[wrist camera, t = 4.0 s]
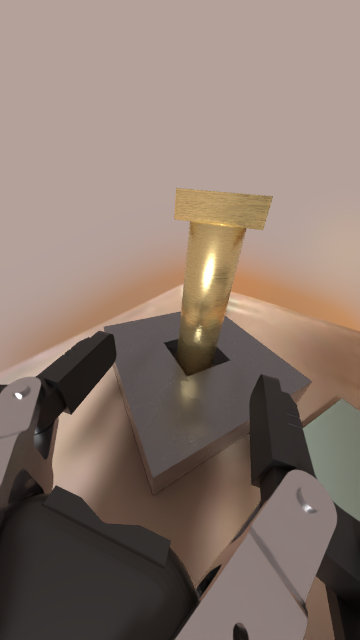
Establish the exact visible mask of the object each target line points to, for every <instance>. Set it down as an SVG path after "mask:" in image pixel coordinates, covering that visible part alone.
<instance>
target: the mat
mask: <svg viewBox="0 0 360 640" xmlns="http://www.w3.org/2000/svg"><path fill="white" fill-rule="evenodd" d="M303 431H304V435H305V439H306V443H307V446H308V450H309V454H310V458H311V461H312V465H313V469H314V472H315V475H316V477H317V480H318V481H319V482H320V483H321V484H322V485H323V487H324V488H325V489H326V490H327V492H328V493H329V495H330V497H331V499H332V500H333V502H335V503H336V504H337V505H338V506H339V507H340V508H342V509H343V510H344V511H346V512H347V513H348V514H350V515H351V516H353V517H354V518H355V519H357V520H358V521H360V411H359V410H357V409H356V408H355V407H353V406H352V405H351V404H349V403H348V402H347V401H345V400H344V399H340V400H339V401H338V402H336V403H335V404H334V405H333V406H331V407H330V408H329V409H327V410H326V411H325V412H324V413H322V414H321V415H320V416H318V417H317V418H316V419H314V420H313V421H312V422H311V423H309V424H308V425H307V426H305V427H304V428H303Z"/></svg>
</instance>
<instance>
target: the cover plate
mask: <svg viewBox="0 0 360 640" xmlns="http://www.w3.org/2000/svg"><path fill="white" fill-rule="evenodd" d="M180 318H181V312H176V313H171V314H166V315H161V316H156V317H151V318H146V319H141V320H136V321H131V322H126V323H121V324H116V325H111V326H106V327H104V332H107V333H110V334H113V335H114V339H115V346H116V353H117V356H116V360H115V362H114V364H113V368H114V371H115V374H116V377H117V381H118V384H119V387H120V390H121V394H122V397H123V400H124V403H125V407H126V410H127V413H128V416H129V420H130V423H131V426H132V429H133V433H134V436H135V439H136V442H137V445H138V449H139V452H140V455H141V458H142V462H143V465H144V468H145V471H146V475H147V478H148V481H149V484H150V488H151V491H152V494H153V495H154V494H155V493H157V492H159V491H160V490H162V489H163V488H165V487H166V486H168V485H169V484H171V483H172V482H174V481H176V480H177V479H179V478H180V477H182V476H183V475H185V474H186V473H188V472H189V471H191V470H192V469H194V468H196V467H197V466H199V465H200V464H202V463H203V462H205V461H206V460H208V459H209V458H211V457H213V456H214V455H216V454H217V453H219V452H220V451H222V450H223V449H225V448H226V447H228V446H229V445H231V444H233V443H234V442H236V441H237V440H239V439H240V438H242V437H243V436H245V435H246V434H248V433H250V415H249V402H250V397H251V393H252V391H253V389H254V387H255V385H256V382H257V380H258V378H259V376H260V375H261V374H263V375H267V376H270V377H274V378H278V379H279V381H280V386H281V391H282V392H286V393H289V394H290V396H291V397H292V399H293V400H294V402H295V403H296V402H297V401H299V399H300V398H301V396H302V395H303V394H304V392H305V391H306V389H307V388H308V387H309V385H310V384H311V382H312V381H311V380H309V379H308V378H307V377H305V376H304V375H303V374H301V373H300V372H299V371H297V370H296V369H295V368H293V367H292V366H291V365H289V364H288V363H287V362H285V361H284V360H283V359H281V358H280V357H279V356H277V355H276V354H275V353H274V352H272V351H271V350H270V349H268V348H267V347H266V346H264V345H263V344H262V343H260V342H259V341H258V340H256V339H255V338H254V337H252V336H251V335H250V334H248V333H247V332H246V331H244V330H243V329H242V328H241V327H239V326H238V325H237V324H235V323H234V322H233V321H231V320H230V319H229V318H227V317H226V316H224V320H223V324H222V328H221V332H220V336H219V340H218V344H217V348H216V352H215V356H214V360H213V364H212V366H213V367H212V368H209V369H207V370H204V371H201V372H199V373H196V374H193V375H191V376H188V377H187V376H186V374H185V373H184V372H183V370H182V369H181V367H180V366H179V364H178V363H177V361H176V360H175V358H177V348H178V338H179V328H180Z"/></svg>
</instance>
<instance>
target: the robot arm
mask: <svg viewBox="0 0 360 640" xmlns="http://www.w3.org/2000/svg"><path fill="white" fill-rule="evenodd" d="M116 356H117V353H116V346H115V339H114V335H113V334H110V333H107V332H103V331H98V332H97V333H95V334H94V335H93V336H92V337H91V338H90V337H88V338H86V339H84V340H82V341H80V342H78V343H77V344H76V345H74V346H73V347H72V348H71V350H68V351H67V352H66V353H65V355H62V356H61V357H60V358H58V359H57V360H56V361H55V362H54V363H52V364H51V365H50V366H49V367H47V368H46V369H45V370H44V371H42V372H41V373H40V374H39V375H37V376H36V377H25V378H21V379H18V380H16V381H14V382H12V383H11V384H9V385H0V640H303V638H304V635H305V631H306V627H307V621H308V612H307V609H306V599H307V595H308V593H309V590H310V588H311V585H312V583H313V580H314V578H315V576H317V577H318V578H319V579H320V580H321V581H322V582H323V583H324V584H325V586H326V591H327V597H328V603H329V608H330V614H331V620H332V625H333V631H334V636H335V640H360V521H358V520H357V519H355V518H354V517H353V516H351V515H350V514H348V513H347V512H346V511H344V510H343V509H342V508H340V507H339V506H338V505H337V504H336V503H335V502H333V500H332V499H331V497H330V495H329V493H328V492H327V490H326V489H325V488H324V487H323V485H322V484H321V483H320V482H319V481H318V480H317V477H316V475H315V472H314V469H313V465H312V461H311V458H310V454H309V450H308V446H307V443H306V439H305V435H304V431H303V429H302V424H301V420H300V419H299V417H300V416H299V412H298V409H297V405H296V403H295V402H294V400H293V399H292V397H291V396H290V394H289V393H286V392H282V391H281V386H280V381H279V379H278V378H274V377H270V376H267V375H263V374H261V375H260V376H259V378H258V380H257V382H256V385H255V387H254V389H253V391H252V393H251V397H250V402H249V415H250V454H251V485H253V486H256V487H258V488H260V493H261V500H260V501H259V503H258V504H257V506H256V507H255V508H254V510H253V511H252V512H251V514H250V515H249V516H248V518H247V519H246V521H245V522H244V523H243V525H242V526H241V527H240V529H239V530H238V532H237V533H236V534H235V536H234V537H233V538H232V540H231V541H230V542H229V544H228V545H227V546H226V547H225V549H224V550H223V551H222V552H221V553H220V555H219V556H218V557H217V558H216V560H215V561H214V562H213V564H212V565H211V566H210V568H209V569H208V571H207V572H206V573H205V575H204V576H203V577H202V579H201V580H200V581H199V583H198V584H197V586H196V587H195V588H194V585H193V583H192V581H191V579H190V576H189V574H188V572H187V570H186V569H185V567H184V565H183V563H182V562H181V560H180V559H179V558H178V556H177V555H176V554H175V553H174V552H173V551H172V549H171V548H170V547H169V546H170V540H168V539H166V538H164V537H162V536H160V535H158V534H156V533H154V532H152V531H150V530H147V529H145V528H143V527H141V526H138V525H121V524H106V523H104V522H102V521H101V520H100V519H99V517H98V516H97V515H96V514H95V513H94V512H93V510H92V509H91V508H90V507H89V506H88V505H87V504H86V502H85V501H84V500H83V499H82V498H81V497H79V496H77V495H75V494H73V493H71V492H69V491H67V490H65V489H62V488H60V487H58V486H55V488H54V489H53V469H52V458H53V452H54V446H55V440H56V434H57V428H58V422H59V418H58V416H59V415H60V414H61V413H62V412H65V413H68V414H72V413H73V412H74V411H75V410H76V408H77V407H78V406H79V405H80V404H81V402H82V401H83V400H84V399H85V398H86V396H87V395H88V394H89V393H90V392H91V390H92V389H93V388H94V387H95V386H96V384H97V383H98V382H99V381H100V380H101V378H102V377H103V376H104V375H105V374H106V372H107V371H108V370H109V369H110V368H111V366H112V365H113V364H114V362H115V360H116ZM52 489H53V490H52Z"/></svg>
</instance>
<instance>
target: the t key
mask: <svg viewBox="0 0 360 640" xmlns="http://www.w3.org/2000/svg"><path fill="white" fill-rule="evenodd" d="M272 198H273V197H272V196H262V195H250V194H238V193H226V192H215V191H203V190H191V189H179V188H176V200H175V216H174V219H175V220H184V221H190V228H189V238H188V248H187V258H186V268H185V278H184V288H183V298H182V308H181V318H180V328H179V338H178V348H177V358H176V361H177V363H178V364H179V366H180V367H181V369H182V370H183V372H184V373H185V374H186V376H187V377H188V376H191V375H193V374H196V373H199V372H201V371H204V370H207V369H209V368H212V364H213V360H214V356H215V352H216V348H217V344H218V340H219V336H220V332H221V328H222V324H223V320H224V316H225V312H226V308H227V304H228V300H229V296H230V292H231V288H232V284H233V280H234V276H235V272H236V268H237V264H238V260H239V256H240V252H241V248H242V244H243V240H244V236H245V232H246V228H250V229H259V230H263V228H264V225H265V221H266V218H267V215H268V211H269V208H270V204H271V201H272Z"/></svg>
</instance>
